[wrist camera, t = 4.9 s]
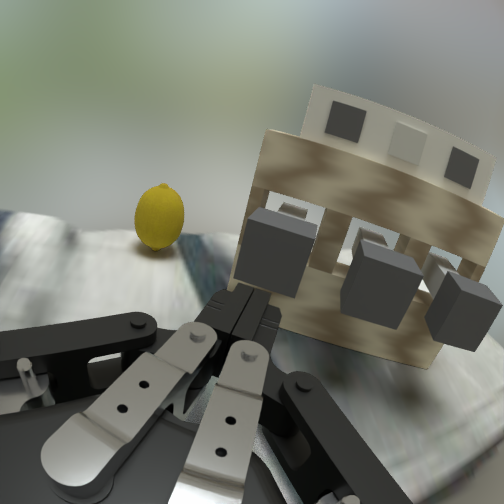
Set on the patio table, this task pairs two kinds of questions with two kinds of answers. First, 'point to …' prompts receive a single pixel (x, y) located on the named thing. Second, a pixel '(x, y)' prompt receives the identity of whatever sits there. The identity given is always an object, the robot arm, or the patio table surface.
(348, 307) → the button mid
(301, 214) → the button left
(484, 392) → the patio table surface
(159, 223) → the lemon
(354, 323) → the board
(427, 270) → the button right
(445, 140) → the card
